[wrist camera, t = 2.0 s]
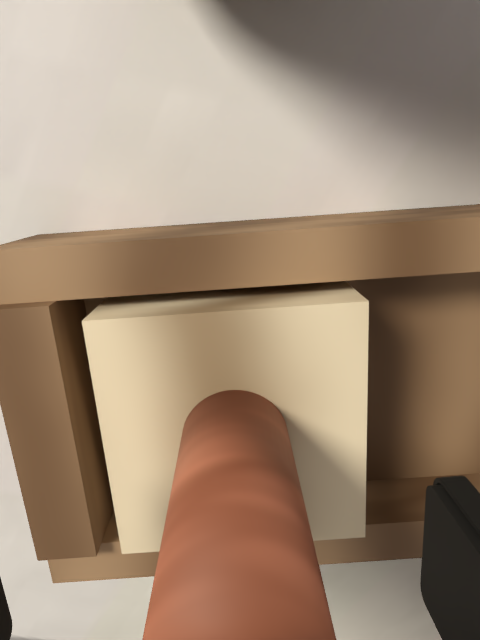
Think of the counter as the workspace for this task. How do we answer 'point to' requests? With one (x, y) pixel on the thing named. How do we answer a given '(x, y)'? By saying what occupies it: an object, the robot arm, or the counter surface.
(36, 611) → the counter surface
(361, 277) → the base
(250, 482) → the carriage
